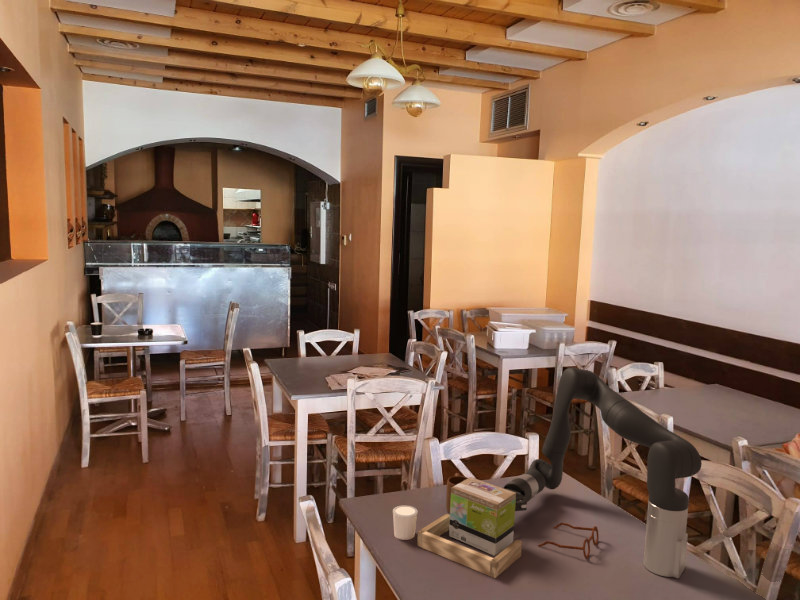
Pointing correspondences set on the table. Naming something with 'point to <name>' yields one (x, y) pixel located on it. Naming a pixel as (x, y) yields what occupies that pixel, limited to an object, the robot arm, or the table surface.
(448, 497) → the mug
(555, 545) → the glasses
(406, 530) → the white cup
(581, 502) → the table surface
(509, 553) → the corral
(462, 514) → the tea box
